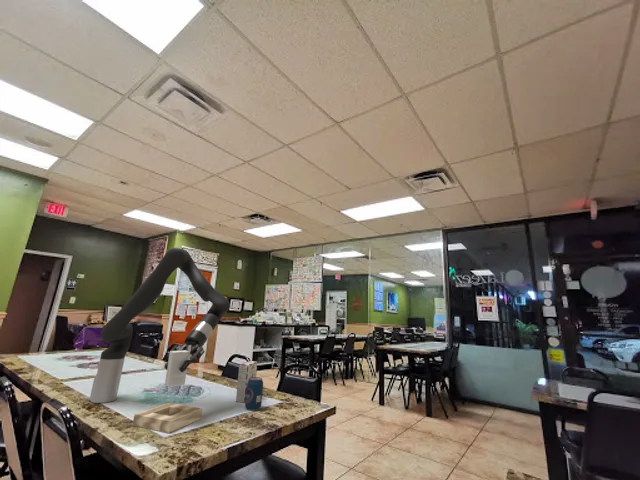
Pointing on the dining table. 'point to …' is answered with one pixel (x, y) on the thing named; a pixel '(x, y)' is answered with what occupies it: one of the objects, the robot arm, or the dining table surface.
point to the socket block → (167, 417)
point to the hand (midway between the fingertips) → (173, 369)
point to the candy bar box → (245, 379)
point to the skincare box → (176, 368)
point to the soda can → (254, 393)
